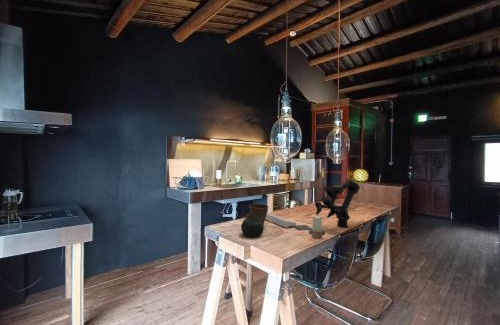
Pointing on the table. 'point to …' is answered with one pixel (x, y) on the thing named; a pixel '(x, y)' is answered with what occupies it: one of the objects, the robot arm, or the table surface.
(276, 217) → the decorative molding
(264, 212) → the plant pot
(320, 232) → the walnut offcut stack
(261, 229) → the squash
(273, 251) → the table surface
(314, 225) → the sage plank
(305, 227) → the rubber mat
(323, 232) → the offcut rack
